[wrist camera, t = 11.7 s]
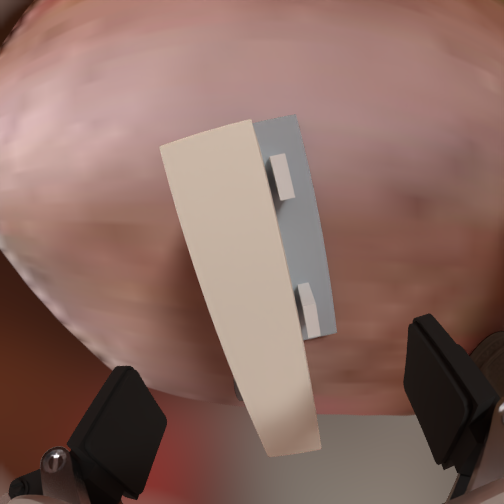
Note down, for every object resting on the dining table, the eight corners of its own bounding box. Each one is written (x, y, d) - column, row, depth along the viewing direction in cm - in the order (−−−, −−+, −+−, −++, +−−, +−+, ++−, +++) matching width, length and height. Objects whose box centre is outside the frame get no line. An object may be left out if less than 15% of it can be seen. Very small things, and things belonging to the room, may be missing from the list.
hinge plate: (293, 117, 22) (302, 104, 17) (333, 324, 28) (346, 357, 22) (179, 146, 23) (156, 142, 18) (237, 343, 29) (232, 378, 23)
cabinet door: (259, 145, 21) (250, 119, 8) (299, 322, 26) (321, 449, 13) (207, 159, 22) (127, 158, 8) (255, 331, 26) (247, 458, 13)
